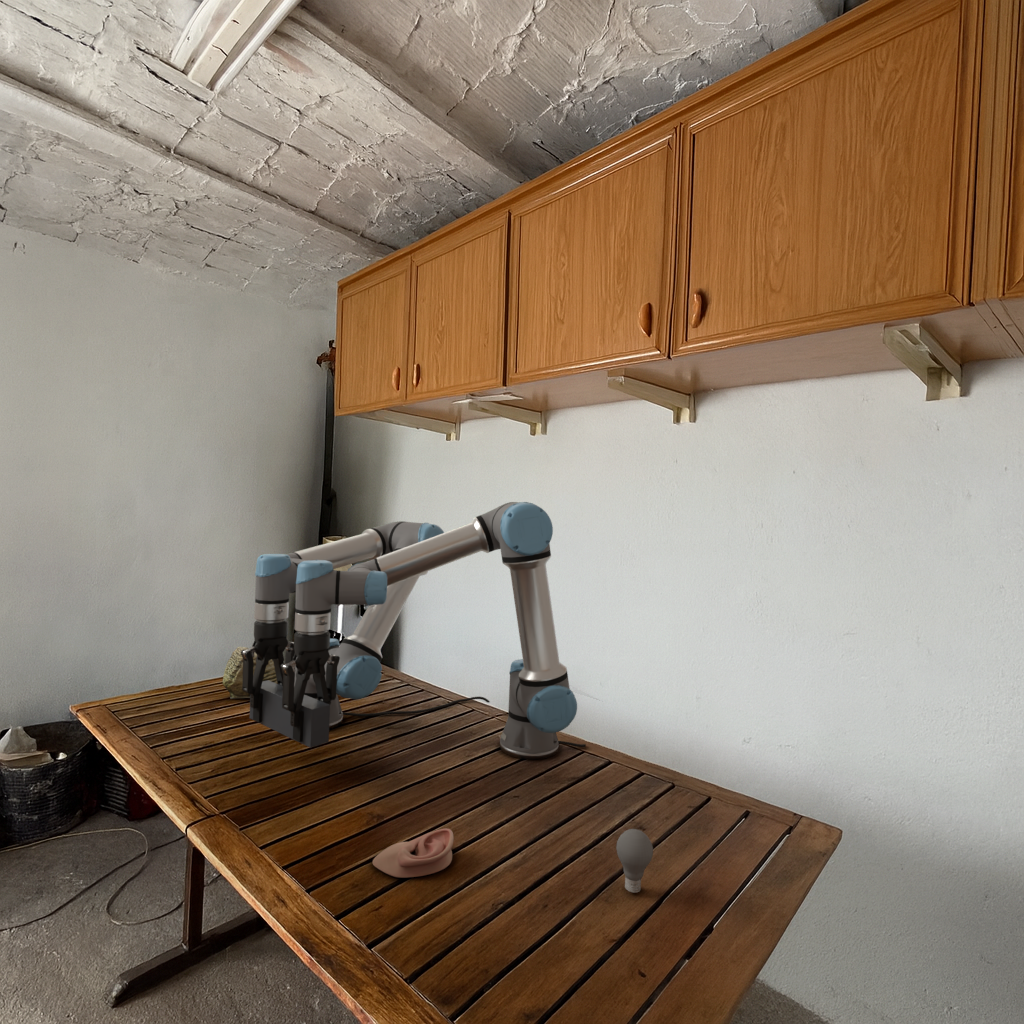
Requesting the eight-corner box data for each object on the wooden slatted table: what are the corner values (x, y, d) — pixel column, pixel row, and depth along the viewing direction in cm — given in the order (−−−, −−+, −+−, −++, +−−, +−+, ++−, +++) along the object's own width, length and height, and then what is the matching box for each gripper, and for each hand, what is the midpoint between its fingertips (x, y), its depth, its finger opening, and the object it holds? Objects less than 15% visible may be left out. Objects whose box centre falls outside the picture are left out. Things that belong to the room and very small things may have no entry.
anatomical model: (365, 849, 107) (391, 816, 119) (364, 872, 107) (390, 837, 119) (440, 861, 105) (459, 827, 116) (439, 885, 105) (459, 848, 116)
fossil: (218, 695, 195) (220, 647, 195) (278, 685, 208) (279, 640, 207) (228, 703, 189) (230, 653, 188) (289, 692, 201) (290, 645, 201)
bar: (249, 718, 151) (250, 683, 150) (267, 713, 154) (268, 680, 154) (310, 748, 135) (311, 709, 135) (328, 742, 138) (330, 704, 138)
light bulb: (610, 879, 108) (613, 822, 108) (644, 879, 109) (647, 822, 109) (619, 902, 102) (622, 840, 102) (655, 901, 103) (658, 840, 103)
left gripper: (243, 627, 140) (240, 732, 140) (313, 617, 154) (309, 713, 154) (226, 622, 145) (223, 723, 145) (295, 613, 158) (292, 705, 159)
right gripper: (285, 640, 130) (281, 753, 130) (356, 628, 143) (352, 730, 144) (265, 634, 134) (261, 743, 135) (336, 623, 148) (332, 722, 148)
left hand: (267, 717), depth 150 cm, fingers closed on bar, 5 cm apart
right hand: (308, 736), depth 139 cm, fingers closed on bar, 5 cm apart
